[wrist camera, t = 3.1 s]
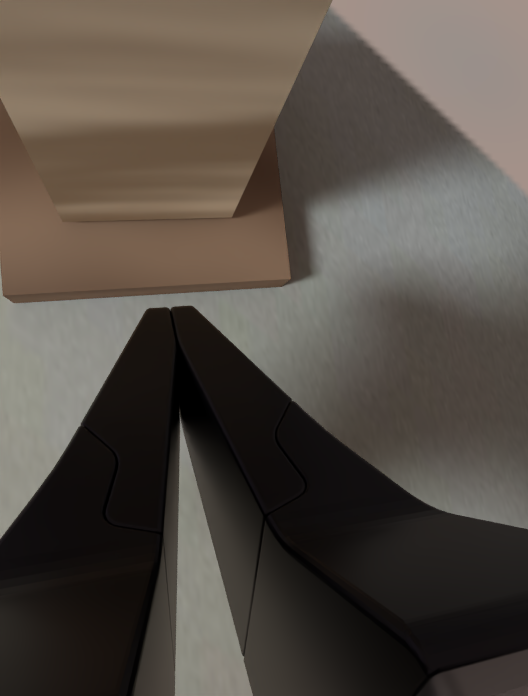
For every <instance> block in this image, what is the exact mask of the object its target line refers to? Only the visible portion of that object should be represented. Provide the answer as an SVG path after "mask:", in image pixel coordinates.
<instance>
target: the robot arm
mask: <svg viewBox="0 0 528 696" xmlns="http://www.w3.org/2000/svg"><path fill="white" fill-rule="evenodd" d="M179 412H180V413H179ZM180 418H181V423H182V428H183V432H184V436H185V439H186V443H187V447H188V451H189V455H190V458H191V462H192V466H193V470H194V473H195V477H196V481H197V485H198V489H199V492H200V496H201V500H202V504H203V508H204V511H205V515H206V519H207V523H208V526H209V530H210V534H211V538H212V542H213V545H214V549H215V553H216V557H217V560H218V564H219V568H220V572H221V576H222V579H223V583H224V587H225V591H226V595H227V598H228V602H229V606H230V610H231V613H232V617H233V621H234V625H235V629H236V632H237V636H238V640H239V644H240V648H241V651H242V655H243V656H244V663H245V667H246V671H247V674H248V678H249V682H250V686H251V690H252V693H253V696H528V529H524V528H519V527H514V526H509V525H504V524H499V523H494V522H490V521H485V520H480V519H475V518H470V517H465V516H460V515H455V514H451V513H447V512H445V511H442V510H439V509H436V508H434V507H432V506H430V505H428V504H426V503H424V502H423V501H421V500H419V499H417V498H416V497H414V496H413V495H411V494H410V493H408V492H407V491H406V490H404V489H403V488H402V487H400V486H399V485H398V484H396V483H395V482H393V481H392V480H391V479H389V478H388V477H387V476H385V475H384V474H383V473H381V472H380V471H379V470H377V469H376V468H375V467H373V466H372V465H371V464H369V463H368V462H367V461H365V460H364V459H363V458H361V457H360V456H359V455H357V454H356V453H355V452H353V451H352V450H351V449H349V448H348V447H347V446H345V445H344V444H343V443H342V442H340V441H339V440H338V439H337V438H335V437H334V436H333V435H332V434H330V433H329V432H328V431H326V430H325V429H324V428H323V427H322V426H321V425H320V424H319V423H317V422H316V421H315V420H314V419H313V418H312V417H311V416H309V415H308V414H307V413H306V412H305V411H304V410H303V409H302V408H301V407H300V406H299V405H298V404H297V403H295V402H294V401H292V399H291V398H290V397H289V396H288V395H287V394H286V393H285V392H284V391H282V390H281V389H280V388H279V387H278V386H277V385H276V384H275V383H274V382H273V381H272V380H271V379H270V378H269V377H268V376H267V375H265V374H264V373H263V372H262V371H261V370H260V369H259V368H258V367H257V366H256V365H255V364H254V363H253V362H252V361H251V360H250V359H248V358H247V357H246V356H245V355H244V354H243V353H242V352H241V351H240V350H239V349H238V348H237V347H236V346H235V345H234V344H233V343H231V342H230V341H229V340H228V339H227V338H226V337H225V336H224V335H223V334H222V333H221V332H220V331H219V330H218V329H217V328H216V327H215V326H213V325H212V324H211V323H210V322H209V321H208V320H207V319H206V318H205V317H204V316H203V315H202V314H201V313H200V312H199V311H198V310H196V309H195V308H194V307H193V306H178V307H172V308H171V310H170V309H169V308H167V307H164V308H149V309H147V310H146V311H145V313H144V315H143V317H142V318H141V320H140V322H139V323H138V325H137V327H136V329H135V330H134V332H133V334H132V336H131V337H130V339H129V341H128V343H127V344H126V346H125V348H124V350H123V351H122V353H121V355H120V356H119V358H118V360H117V362H116V363H115V365H114V367H113V369H112V370H111V372H110V374H109V376H108V377H107V379H106V381H105V383H104V384H103V386H102V388H101V389H100V391H99V393H98V395H97V396H96V398H95V400H94V402H93V403H92V405H91V407H90V409H89V410H88V412H87V414H86V416H85V417H84V419H83V421H82V422H81V426H80V427H78V429H77V431H76V432H75V434H74V436H73V438H72V439H71V441H70V443H69V445H68V446H67V448H66V449H65V451H64V453H63V454H62V456H61V457H60V459H59V461H58V462H57V464H56V465H55V467H54V468H53V470H52V471H51V473H50V474H49V475H48V477H47V478H46V479H45V481H44V482H43V484H42V485H41V486H40V488H39V489H38V490H37V492H36V493H35V495H34V496H33V497H32V498H31V500H30V501H29V502H28V504H27V505H26V506H25V508H24V509H23V510H22V511H21V513H20V514H19V515H18V517H17V518H16V519H15V521H14V522H13V523H12V524H11V526H10V527H9V528H8V530H7V531H6V532H5V534H4V535H3V536H2V537H1V539H0V696H175V654H176V604H177V553H178V503H179V453H180Z"/></svg>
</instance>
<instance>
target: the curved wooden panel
mask: <svg viewBox="0 0 528 696" xmlns="http://www.w3.org/2000/svg"><path fill="white" fill-rule="evenodd" d="M331 2H332V0H0V98H1V100H2V102H3V104H4V106H5V108H6V110H7V112H8V114H9V116H10V118H11V120H12V122H13V124H14V126H15V128H16V130H17V132H18V134H19V136H20V138H21V140H22V142H23V144H24V146H25V148H26V150H27V152H28V154H29V156H30V158H31V160H32V162H33V164H34V166H35V168H36V170H37V172H38V174H39V176H40V178H41V180H42V182H43V184H44V186H45V188H46V190H47V192H48V194H49V196H50V198H51V200H52V202H53V204H54V206H55V208H56V210H57V212H58V214H59V216H60V218H61V220H62V222H82V221H119V220H155V219H192V218H229V217H232V216H233V214H234V212H235V209H236V207H237V205H238V203H239V201H240V199H241V196H242V194H243V192H244V190H245V188H246V186H247V183H248V181H249V179H250V177H251V175H252V173H253V171H254V168H255V166H256V164H257V162H258V160H259V158H260V155H261V153H262V151H263V149H264V147H265V145H266V142H267V140H268V138H269V136H270V134H271V132H272V130H273V127H274V125H275V123H276V121H277V119H278V117H279V114H280V112H281V110H282V108H283V106H284V104H285V101H286V99H287V97H288V95H289V93H290V91H291V88H292V86H293V84H294V82H295V80H296V78H297V76H298V73H299V71H300V69H301V67H302V65H303V63H304V60H305V58H306V56H307V54H308V52H309V50H310V47H311V45H312V43H313V41H314V39H315V37H316V35H317V32H318V30H319V28H320V26H321V24H322V22H323V19H324V17H325V15H326V13H327V11H328V9H329V6H330V4H331Z"/></svg>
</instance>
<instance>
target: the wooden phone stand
mask: <svg viewBox="0 0 528 696" xmlns="http://www.w3.org/2000/svg"><path fill="white" fill-rule="evenodd" d="M0 261H1V275H2V290H3V296H4V297H6V298H7V299H9V300H10V301H12V302H13V303H25V302H41V301H58V300H74V299H90V298H106V297H123V296H139V295H155V294H171V293H187V292H204V291H220V290H236V289H252V288H269V287H282V286H283V285H284V284H285V283H287V282H288V281H289V280H290V279H291V275H290V267H289V258H288V249H287V240H286V231H285V222H284V213H283V204H282V195H281V187H280V178H279V169H278V160H277V151H276V142H275V133H274V127H273V130H272V132H271V134H270V136H269V138H268V140H267V142H266V145H265V147H264V149H263V151H262V153H261V155H260V158H259V160H258V162H257V164H256V166H255V168H254V171H253V173H252V175H251V177H250V179H249V181H248V183H247V186H246V188H245V190H244V192H243V194H242V196H241V199H240V201H239V203H238V205H237V207H236V209H235V212H234V214H233V216H232V217H229V218H192V219H155V220H119V221H82V222H62V220H61V218H60V216H59V214H58V212H57V210H56V208H55V206H54V204H53V202H52V200H51V198H50V196H49V194H48V192H47V190H46V188H45V186H44V184H43V182H42V180H41V178H40V176H39V174H38V172H37V170H36V168H35V166H34V164H33V162H32V160H31V158H30V156H29V154H28V152H27V150H26V148H25V146H24V144H23V142H22V140H21V138H20V136H19V134H18V132H17V130H16V128H15V126H14V124H13V122H12V120H11V118H10V116H9V114H8V112H7V110H6V108H5V106H4V104H3V102H2V100H1V98H0Z"/></svg>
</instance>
